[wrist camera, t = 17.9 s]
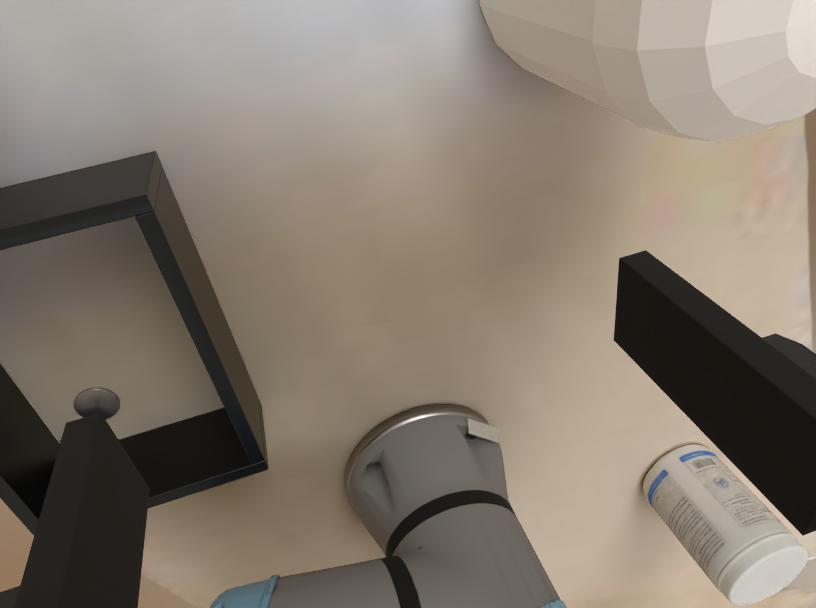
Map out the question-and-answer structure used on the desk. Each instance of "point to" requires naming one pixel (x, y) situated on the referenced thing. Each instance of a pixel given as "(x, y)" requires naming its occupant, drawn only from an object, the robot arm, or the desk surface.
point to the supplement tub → (723, 525)
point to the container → (671, 59)
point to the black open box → (150, 451)
